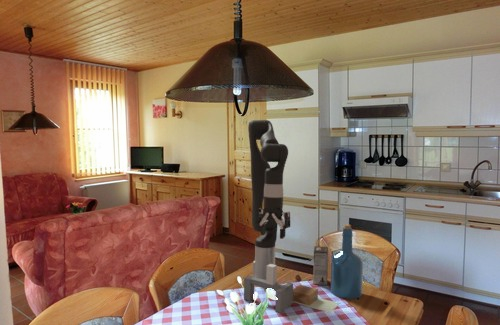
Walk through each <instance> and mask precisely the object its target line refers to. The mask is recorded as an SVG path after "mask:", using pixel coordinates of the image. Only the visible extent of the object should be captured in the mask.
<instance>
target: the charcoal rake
mask: <svg viewBox="0 0 500 325" xmlns="http://www.w3.org/2000/svg"><path fill="white" fill-rule="evenodd" d="M277 272H278V265H277V264H275V265H274V264H269V265H267V266H266V280H263V279H259V278H255V277H253V275H249V274H248V275H246V276H245V277H243V280H244V281H243V300H245V301H248V302H251V301H253V300H254V299H253V294H254V295H255V286H258V287H261V288H264V289H267V288H272V289H274V290H273V291H275V298H276V297H277V298H278V300H276V299H275V312H277V313H279V314H281V313H282V312H283V311H285V310H286V309H287V308H289V307H290V306H291V305H293V303H294V302H293V289H294V283H293V282H287V283H285V284H281V283H277V282H278V281H277V278H278V273H277Z"/></svg>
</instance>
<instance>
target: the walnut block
mask: <svg viewBox="0 0 500 325" xmlns="http://www.w3.org/2000/svg"><path fill="white" fill-rule="evenodd" d="M318 298H319V288H315V287H312V286H307V285H303V284H299V285H298V286H296V287H295V288H293V301H295V302H298V303H302V304H305V305H309V306H310V305H311V304H312V303H313V302H315V301H316V300H317V299H318ZM298 303H297V304H298ZM305 305H304V306H305Z"/></svg>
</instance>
